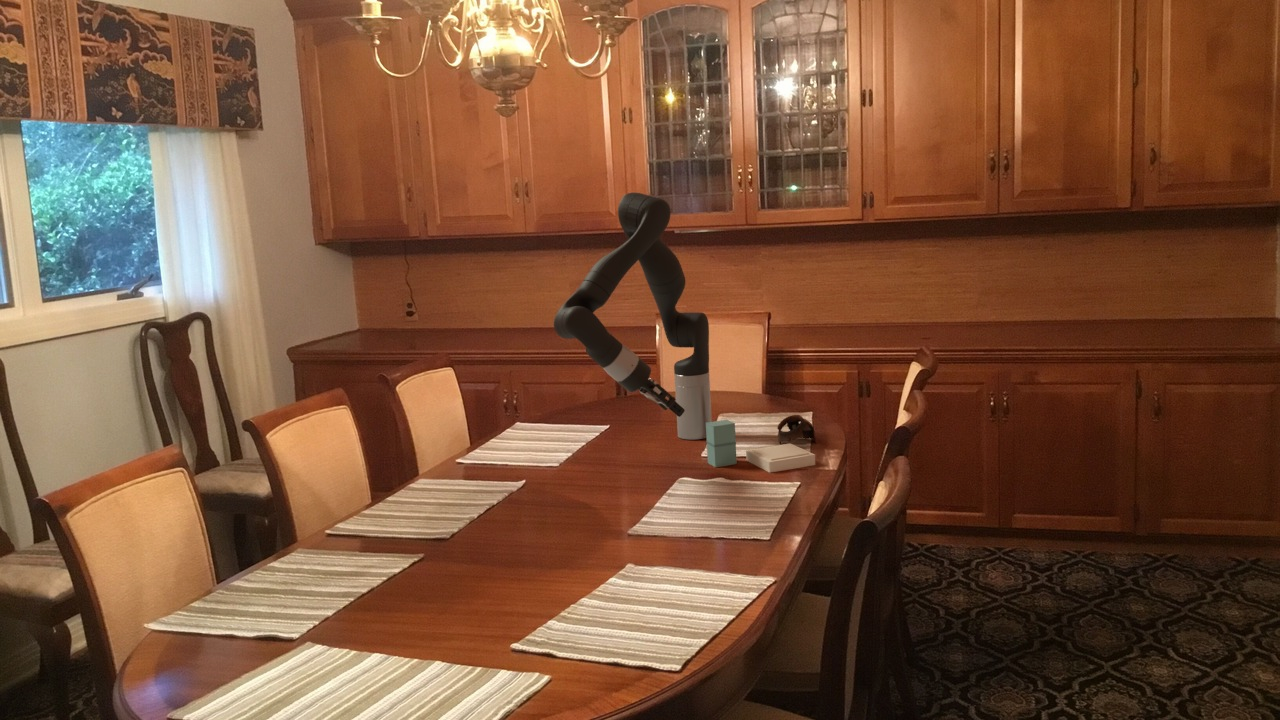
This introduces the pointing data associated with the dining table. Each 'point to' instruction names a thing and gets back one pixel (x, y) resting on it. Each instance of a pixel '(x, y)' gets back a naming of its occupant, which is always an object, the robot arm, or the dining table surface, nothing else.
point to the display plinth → (780, 457)
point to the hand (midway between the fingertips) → (674, 410)
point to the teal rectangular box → (721, 443)
